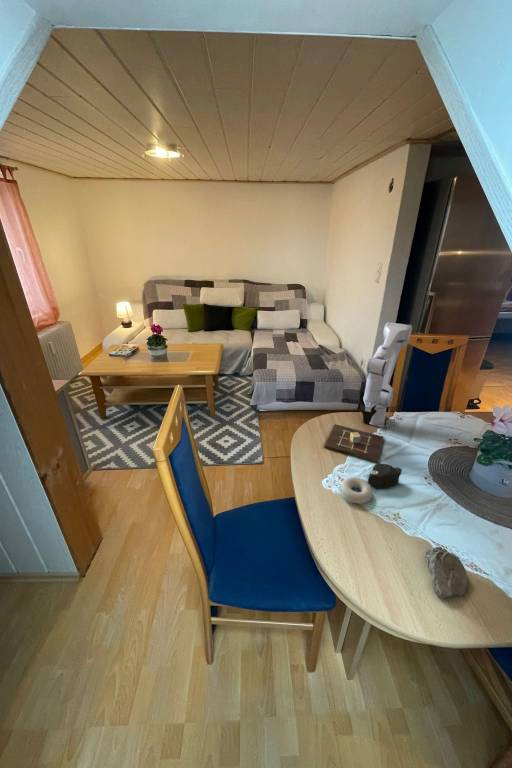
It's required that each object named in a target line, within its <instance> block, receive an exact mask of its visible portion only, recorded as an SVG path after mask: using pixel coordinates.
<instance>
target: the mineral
mask: <svg viewBox="0 0 512 768" xmlns="http://www.w3.org/2000/svg"><path fill="white" fill-rule="evenodd" d="M402 473H403V469H402V468H400V467H398V466H397V467H395V466H393V465H392V464H389V463H388V464H387V463H376V464H374V466H373V467H372V469H371V471H370V473H369V475H368V478H367V483H368V484H369V485H370V486H371V488H373V489H375V490H381V489H382V490H383V489H390V488H392V487H395V486H396V485H398V484H399V482H400V477H401V475H402Z"/></svg>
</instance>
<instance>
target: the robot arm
mask: <svg viewBox="0 0 512 768" xmlns="http://www.w3.org/2000/svg"><path fill="white" fill-rule="evenodd" d="M412 330H413V326H412V324H404V323H396V322H390V321H387V322H386V323H385V324H384V327H383V332H382V336H383V341H384V342H383V343H382V344H381V345H379V346H378V347H377V349H376V351H375V353H374V355H373V357H372V358H371V357H370V358H369V359H368V362H367V364H366V383H365V388H364V395H363V397H362V400H363V402H364V403H363V404H364V405H361V406H360V412H361V413H362V421H363V424H366V425H371V426H374V427H379V428H384V426H385V422H386V418H387V417H386V416H387V415H386V411H387V408H389V407H390V406H391V405H392V402H393V398H394V394H395V391H394V390H395V389H394V388H393V387H392V385H390V382H391V379H392V377H393V373H394V369H395V366H396V363H397V361H398V357H399V354H400V351H401V350H402V348H404V347H406V346H407V345H408V344H409V341H410V337H411V334H412Z"/></svg>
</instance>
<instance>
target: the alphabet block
mask: <svg viewBox="0 0 512 768" xmlns="http://www.w3.org/2000/svg"><path fill="white" fill-rule="evenodd" d="M360 438H361V436H360V435H359V433H358V432H353V433H351V434H350V439H351V441H352V443H358V442H360Z"/></svg>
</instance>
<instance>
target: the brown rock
mask: <svg viewBox="0 0 512 768" xmlns="http://www.w3.org/2000/svg"><path fill="white" fill-rule="evenodd" d="M423 560H424V562H425V563H426V567H427V569H428V570H429V571H430V574H431V580H432V582H433V585H432V589H433V591H434V592H435V593H436V594H437V596H439V598H440V599H446V598H448V597H460V596H463V595H464V594H465V593H466V591H467V589H468V585H469V580H468V574H467V571H466V568H465V566H464V564H463V562H462V561H461V559H460V558H459V557H458V556H457V555H456V554H454V553H451V552H449V551H448V550H446V549H444V548H443V547H440V546H435V547H431V548H429V549H427V550H426V551H425V554H424V555H423Z"/></svg>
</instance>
